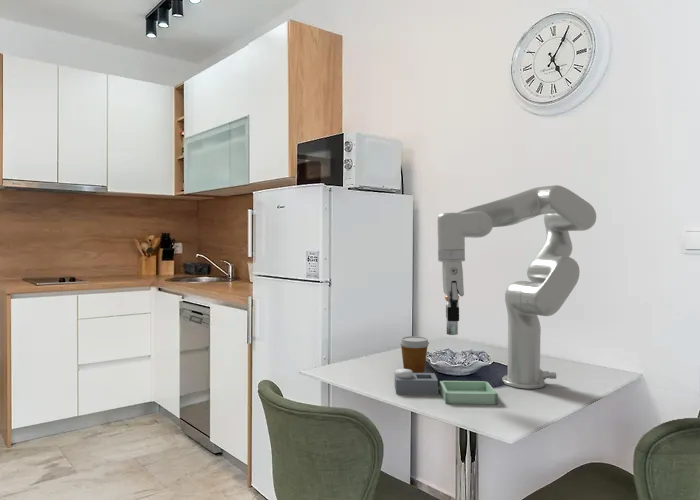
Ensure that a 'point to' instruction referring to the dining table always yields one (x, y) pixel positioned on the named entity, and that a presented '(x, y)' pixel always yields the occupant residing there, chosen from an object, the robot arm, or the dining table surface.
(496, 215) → the robot arm
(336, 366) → the dining table surface
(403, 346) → the disposable coffee cup
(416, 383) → the block
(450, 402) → the tray
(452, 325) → the pin
